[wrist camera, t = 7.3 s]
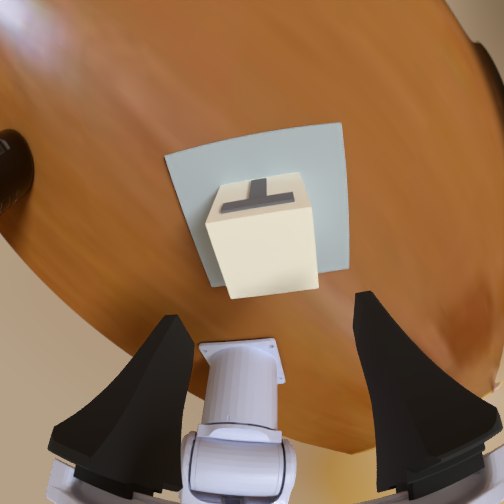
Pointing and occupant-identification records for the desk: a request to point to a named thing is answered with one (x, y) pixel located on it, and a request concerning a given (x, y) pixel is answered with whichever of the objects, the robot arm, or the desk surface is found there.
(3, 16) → the desk surface
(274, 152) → the slate mat
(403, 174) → the desk surface
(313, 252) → the letter block
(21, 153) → the supplement bottle
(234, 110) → the desk surface
